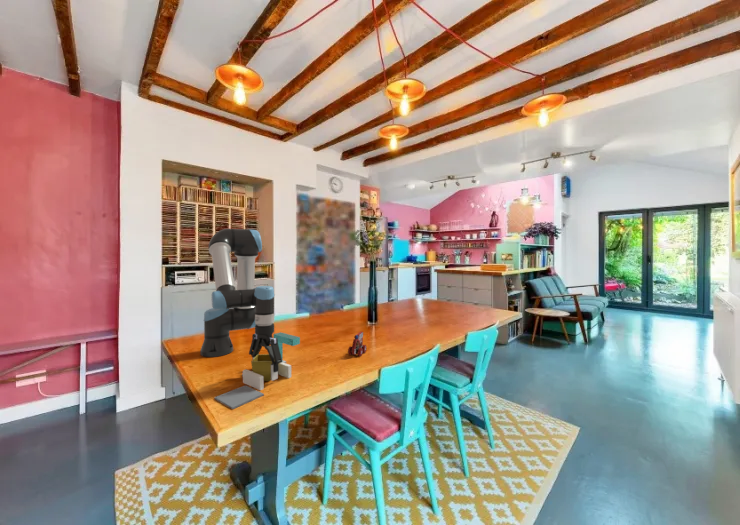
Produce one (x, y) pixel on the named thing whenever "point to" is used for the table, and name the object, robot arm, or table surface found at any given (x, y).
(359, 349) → the toy fire truck
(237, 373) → the table surface
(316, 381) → the table surface
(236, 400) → the mat
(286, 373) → the white bars
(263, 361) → the flower pot
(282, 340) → the gate
